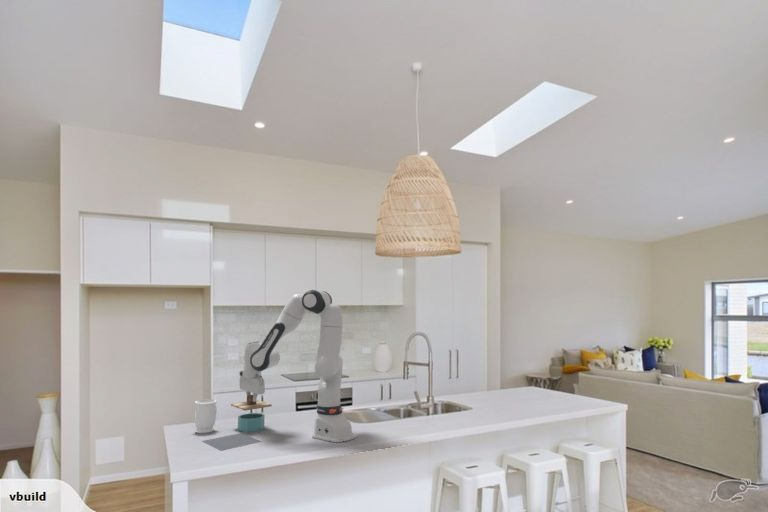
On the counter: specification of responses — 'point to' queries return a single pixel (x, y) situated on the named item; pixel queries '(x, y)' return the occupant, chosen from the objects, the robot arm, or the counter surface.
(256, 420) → the bowl
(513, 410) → the counter surface
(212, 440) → the mat
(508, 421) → the counter surface
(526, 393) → the counter surface
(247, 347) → the robot arm
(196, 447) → the counter surface
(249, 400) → the lid
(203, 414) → the jar
